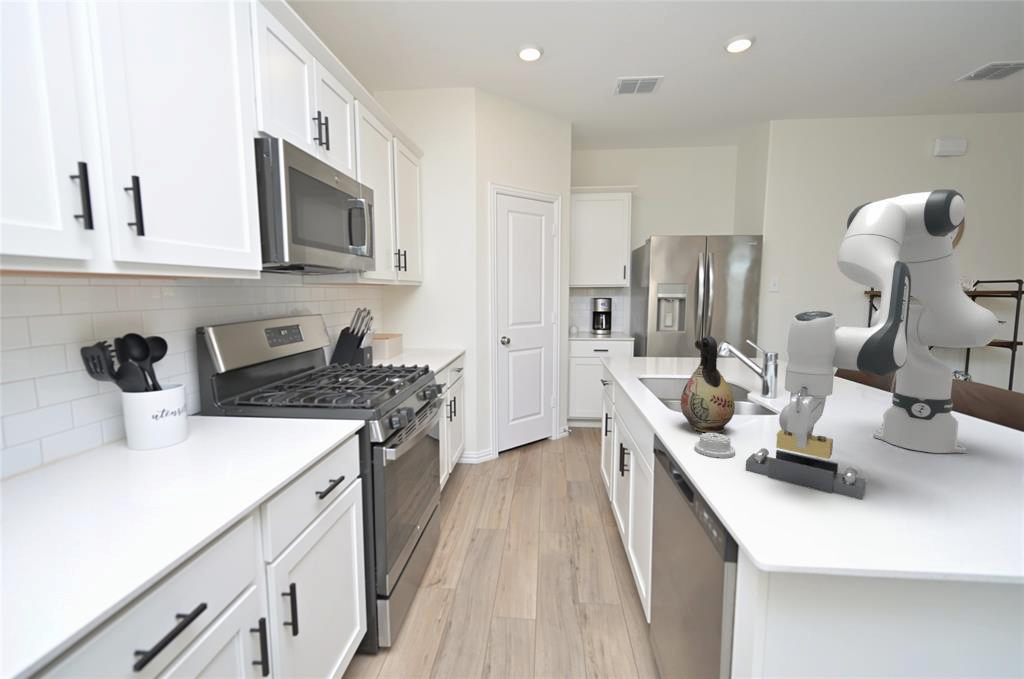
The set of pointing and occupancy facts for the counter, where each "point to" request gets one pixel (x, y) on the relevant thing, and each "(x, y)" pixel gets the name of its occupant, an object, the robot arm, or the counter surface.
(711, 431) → the ceramic jug
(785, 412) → the donut
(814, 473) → the linear slide rail
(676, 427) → the counter surface
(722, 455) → the mechanical component
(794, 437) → the gold block with knob
